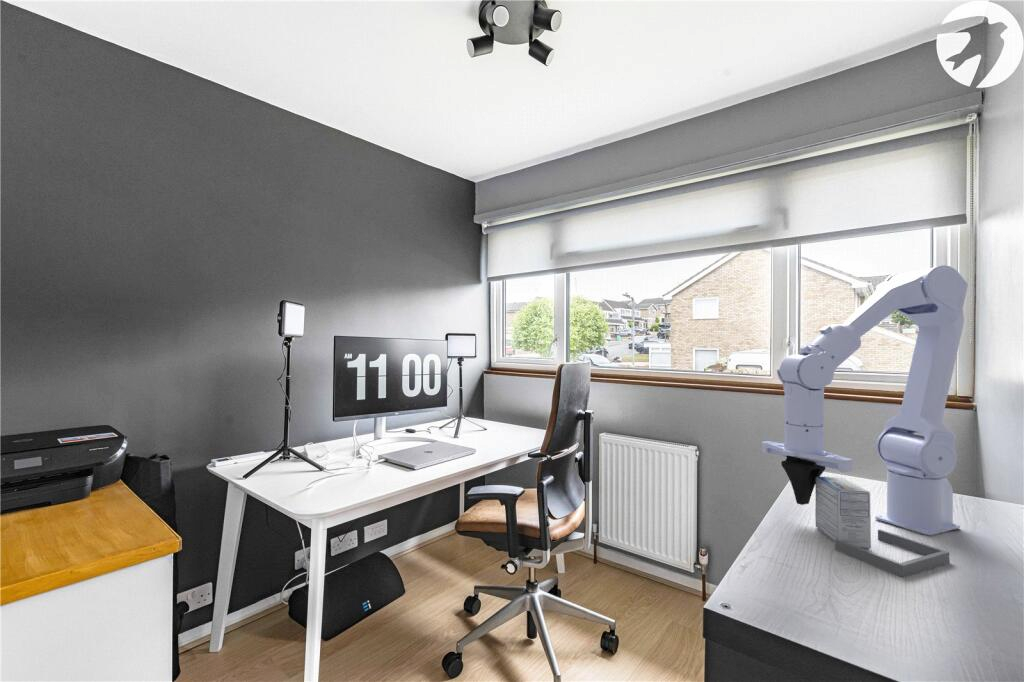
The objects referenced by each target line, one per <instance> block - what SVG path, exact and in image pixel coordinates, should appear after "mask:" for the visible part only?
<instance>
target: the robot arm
mask: <svg viewBox="0 0 1024 682" xmlns="http://www.w3.org/2000/svg"><path fill="white" fill-rule="evenodd" d="M968 286H969V283H968V282H967V281H966V279H965V278H964V277H963V276H962V275H961V274H960V273H959V271H958V270H957V269H955V268H954V267H952V266H950V265H945V264H944V265H943V264H942V265H936V266H934V267H932V268H926V269H920V270H915V271H909V272H903V273H894V274H891V275H889V276H888V277H886V278H885V280H884V281H883V282H881V283H879V284H878V285H876V287H875V288H876V289H875V291H874V292H873V294H871V295H870V296H869V297H868V298H867V299H866V300H865V301H864V302H863V303H862V304H861V305H860V306H858V308H857V309H856V310H855V311H854V312H853V313H852V314H851V315H850V316H849V317H848V318H847V319H846V320H845V321H844V322H843V323H842V324H838V323H833V324H830V325H826V326H822V327H821V328H820V329H819V330H818V332H819V334H818V335H817V336H816V337H814V339H813V340H811V341H810V342H809V343H807V345H802V346H801V347H799V352H798V354H791V355H788V356H787V357H785V358H784V359H783V360H782V361H781V363H780V365H779V368H778V369H777V370H776V373H777V374H776V375H777V377H778V379H779V381H780V382H781V384H782V388H783V393H784V414H783V415H784V424H783V425H784V430H783V431H784V433H783V434H784V436H783V439H784V441H783V442H784V443H782V442H781V443H780V442H776V441H770V440H767V441H762V442H761V453H764V454H772V455H775V456H780V457H783V458H786V459H785V460H782V461H781V463H780V464H781V466H782V468H783V469H784V471H785V473H786V475H787V477H788V479H789V481H790V484H791V487H792V490H793V494H794V498H795V502H796V504H797V505H801V506H802V505H808V504H810V500H811V497H812V495H813V491H814V488H815V487H816V477H822V474H823V473H824V471H825V470H826V468H830V469H833V470H837V471H838V472H842V473H849V472H853V459H851V458H848V457H844V456H841V455H838V454H834V453H831V452H828V451H825V450H824V446H825V445H824V444H825V443H824V441H825V439H824V438H825V437H824V433H825V430H824V429H825V426H824V425H825V419H824V418H825V387H827V386H829V385H830V384H832V381H833V380H834V375H835V371H836V370H837V369H838V367H839V366H841V365H842V364H843V363H844V362H845V361H847V359H848V358H850V357H851V356H852V355H853V354H855V352H857V351H858V350H859V349H860V348H861V346H862V339H861V337H863V336H864V335H865V334H867V333H868V332H869V331H871V330H872V329H874V327H876V326H877V325H878V324H880V323H881V322H882V321H884V320H885V319H887V318H888V317H889V316H890V315H891V314H894V312H898V313H899V314H901V315H902V316H904V317H906V318H907V319H908V320H910V321H912V322H913V323H914V324H915V325H916V326H917V327H918V331H917V337H916V340H915V344H914V350H913V354H912V358H911V363H910V367H909V370H908V371H909V373H908V374H907V375H908V376H907V381H906V385H905V387H904V388H905V390H904V394H903V396H902V397H903V398H902V403H901V408H900V411H899V413H897V414H896V415H894V416H893V417H891V418H889V419H888V420H886V421H885V425H884V429H883V431H881V433H880V434H879V436H878V437H877V439H876V440H875V441H876V442H875V452H876V455H877V456H878V457H879V459H880V460H881V461H883V467H884V468H886V513H883V514H877V515H875V516H874V519H875V520H878V521H882V522H885V523H888V524H890V525H894V526H897V527H899V528H900V527H901V528H904V529H907V530H910V531H913V532H916V533H920V534H923V535H926V536H934V535H937V534H941V533H946V532H948V531H952V530H957V529H960V528H961V525H960V524H959V523H954V513H953V512H954V507H953V506H954V489H953V487H952V484H951V483H950V481H949V480H948V475H949V474H951V473H952V472H953V471H954V470H955V468H956V465H957V461H958V456H957V450H956V439H957V436H956V434H955V433H954V432H953V431H952V430H951V429H950V428H949V427H948V426H947V425H946V424H945V423H944V422H943V417H944V413H945V409H946V405H947V400H948V395H949V392H950V391H949V390H950V387H951V383H952V377H953V373H954V370H955V369H954V367H955V365H956V360H957V355H958V350H959V346H960V343H961V337H962V334H963V329H964V325H965V323H964V322H965V315H964V304H965V299H966V295H967V291H968ZM918 433H919V435H918ZM920 434H922V435H920Z"/></svg>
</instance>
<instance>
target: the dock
mask: <svg viewBox="0 0 1024 682" xmlns="http://www.w3.org/2000/svg"><path fill="white" fill-rule="evenodd" d="M877 540H879V541H880V542H881V541H882V542H884V543H887V544H889V545H892V546H896V547H898V548H899V547H900V548H902V549H905V550H907V551H911V552H913V553H916V554H918V555H921V556H919V557H916V558H912V559H909V560H906V561H902V562H899V561H896V560H893V559H891V558H888V557H887V556H883V555H881V554H877V553H875V552H872V551H870V550H868V549H867V550H866V549H864V548H859V547H857V546H854V545H851V544H849V543H846V542H843V541H841V540H838V539H836V540H835V542H834V551H836V552H839V553H842V554H844V555H847V556H849V557H851V558H854V559H856V560H859V561H861V562H864V563H866V564H869V565H871V566H873V567H877V568H878V569H880V570H884V571H886V572H889V573H892V574H894V575H897V576H899V577H902V578H905V577H909V576H911V575H914V574H917V573H918V574H919V573H920V572H921V573H922V572H924V571H927V570H931V569H934V568H937V567H940V566H944V565H948V564H950V551H947V550H944V549H940V548H937V547H935V546H932V545H930V544H926V543H923V542H919V541H916V540H914V539H911V538H908V537H904V536H901V535H899V534H896V533H892V532H889V531H886V530H884V529H880V528H879V529H878V530H877Z"/></svg>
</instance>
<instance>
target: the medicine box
mask: <svg viewBox="0 0 1024 682" xmlns="http://www.w3.org/2000/svg"><path fill="white" fill-rule="evenodd" d="M814 511H815V512H814V513H815V527H816V528H817V529H818V530H820V531H821V532H822V533H823V534H824V535H825V536H827V537H828V538H830V539H831V541H833V542H834V543H835V540H836V539H838V540H841V541H843V542H846V543H849V544H851V545H854V546H857V547H859V548H862V549H865V550H866V549H867V550H869V549H871V548H872V540H871V539H872V538H871V536H872V535H871V534H872V532H871V530H872V524H871V522H872V521H871V520H872V519H871V493H870V491H869V490H866V489H865V488H863V487H862V486H860V485H858V484H856V483H854V482H852V481H850V480H848V479H847V478H844V477H836V476H820V477H816V484H815V510H814Z"/></svg>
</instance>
